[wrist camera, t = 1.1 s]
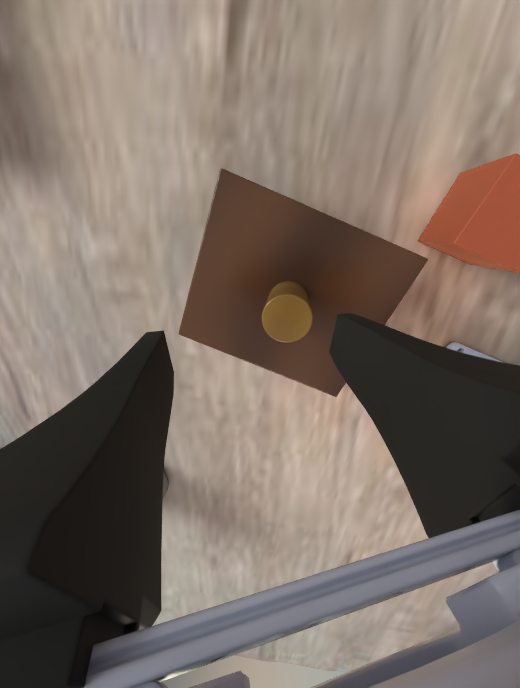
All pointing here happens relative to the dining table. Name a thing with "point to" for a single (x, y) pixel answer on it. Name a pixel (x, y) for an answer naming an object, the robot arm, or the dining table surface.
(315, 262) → the box lid with knob
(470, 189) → the block
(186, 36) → the dining table surface
